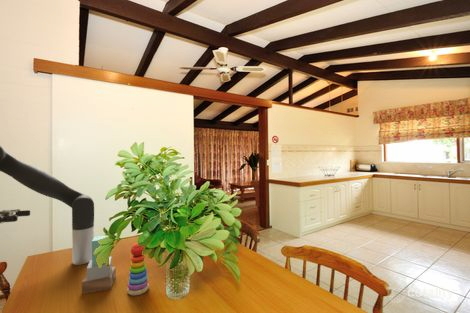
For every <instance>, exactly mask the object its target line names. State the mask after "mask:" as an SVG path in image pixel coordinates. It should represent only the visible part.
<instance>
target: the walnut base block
mask: <svg viewBox="0 0 470 313" xmlns="http://www.w3.org/2000/svg"><path fill="white" fill-rule="evenodd" d="M116 274H117V267H116V266H112V268H111V274H110V277H106V278H100V279H95V280H90V281H87V274H86V275H85V277H84V278H83V280H82V281H81V294H82V293H85V294H89V293H88V292H91V293H96V291H97V292H101V291H102V290H104V291H110V290H112V287H113V285H112V284H114V283H115V279H116V277H117V275H116ZM109 289H110V290H109ZM102 292H103V291H102Z"/></svg>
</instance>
